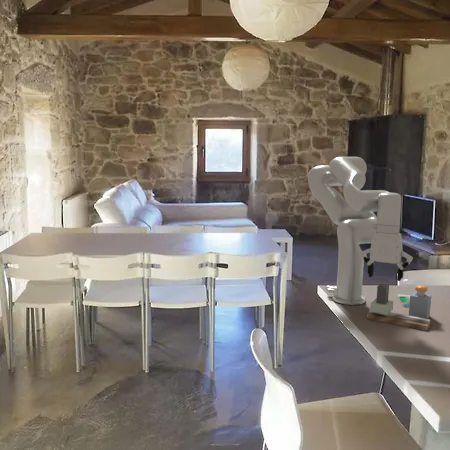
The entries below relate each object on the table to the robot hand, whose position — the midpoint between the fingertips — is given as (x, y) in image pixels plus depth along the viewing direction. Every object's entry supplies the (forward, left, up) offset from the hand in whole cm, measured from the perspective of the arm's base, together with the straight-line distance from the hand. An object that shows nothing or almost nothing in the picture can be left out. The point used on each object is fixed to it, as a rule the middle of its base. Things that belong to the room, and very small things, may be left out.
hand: (385, 278), depth 183 cm
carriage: (0, 0, -12) cm, 12 cm away
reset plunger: (+11, +9, -9) cm, 17 cm away
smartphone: (+4, +25, -15) cm, 30 cm away
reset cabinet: (+11, +9, -15) cm, 20 cm away
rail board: (+6, 0, -15) cm, 16 cm away
